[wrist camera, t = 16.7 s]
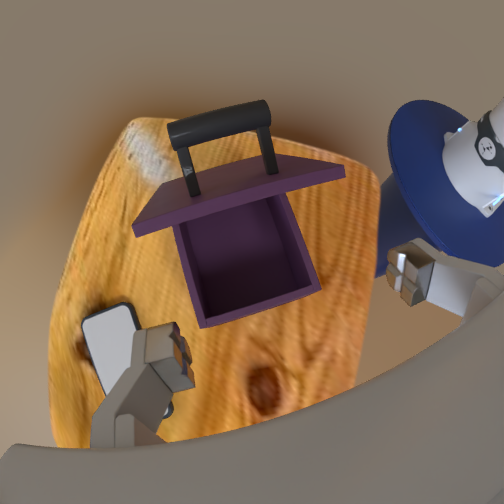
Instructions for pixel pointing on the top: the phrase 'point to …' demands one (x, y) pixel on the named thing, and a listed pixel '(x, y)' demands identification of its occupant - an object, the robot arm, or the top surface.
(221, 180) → the lid
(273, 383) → the top surface
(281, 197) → the purple box
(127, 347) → the smartphone
